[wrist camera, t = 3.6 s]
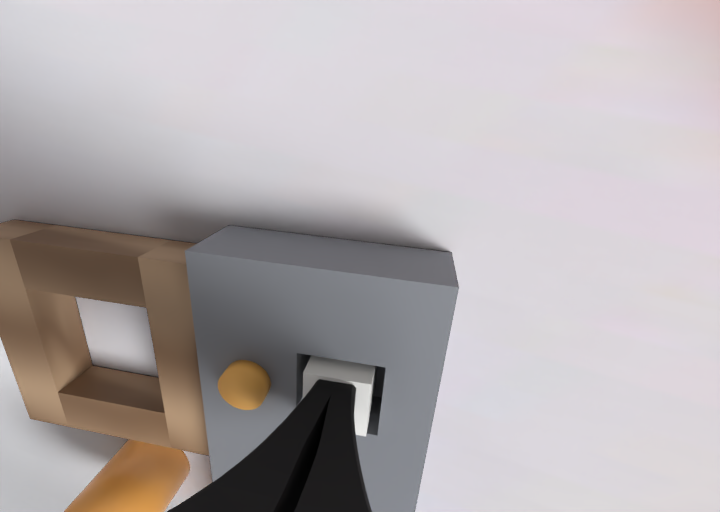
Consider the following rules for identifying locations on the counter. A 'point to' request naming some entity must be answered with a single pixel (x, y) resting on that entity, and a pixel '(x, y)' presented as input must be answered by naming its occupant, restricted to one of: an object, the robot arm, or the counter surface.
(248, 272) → the breaker panel
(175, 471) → the cap
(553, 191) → the counter surface
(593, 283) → the counter surface
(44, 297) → the frame
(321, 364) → the white cube
